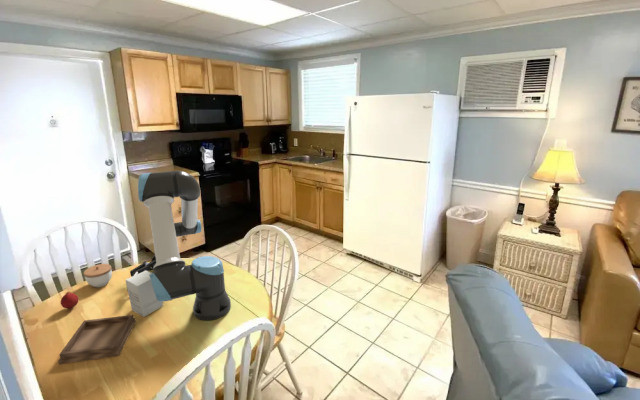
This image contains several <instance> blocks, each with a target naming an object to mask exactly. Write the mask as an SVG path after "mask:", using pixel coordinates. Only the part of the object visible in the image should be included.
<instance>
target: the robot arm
mask: <svg viewBox="0 0 640 400" xmlns="http://www.w3.org/2000/svg"><path fill="white" fill-rule="evenodd" d="M137 193H138V201H139V202H142V203H143V206H145V207H147V208H148V214H149V221H150V227H151V228H150V229H151V234H152V241H153V249H154V255H152V258H151V260H150V261H149V262H147V261H143V262H142V263H141V264H139V265H138V266H136V267H135V268H133V269H131V270H130V271H129V273H130V277H133V276H135V275H137V274H139V273H141V272H143V271H148V272H150V273H151V274H149V276H150V279H151V283H152V286H153V289H154V293H155V296H156V299H157V300H158V301H159V302H163V303H164V302H168V301H173V300H176V299H179V298H184V297H188V296H191V295H195V298H194V302H193V306H192V310H193V311H192V312H193V315H194V317H195V318H196V319H198V320H201V321H213V320H218V319H221V318H222V317H224V316H225V315H226V314H228V313H229V311H230V310H231V307H232V306H231V305H232V304H231V299H230V297H229V295H228V293H227V291H226V283H225V274H224V272H225V269H224V265H223V261H222V260H221V259H220V258H218V257H216V256H211V255H203V256H198V257H196V258H194V259H193V260H192V262H191V264H188V265H186V261H185V260H184V259H182V258H181V255H180V250H179V244H178V243H179V242H178V237H184V236H188V235H189V236H190V235H196V234H199V233H200V234H201V232H202V229H203V227H202V223H201V220H200V219H198V215H199V214H198V209H199V198H200V197H201V187H200V184H199V181H198V180H197V179H196V178H195V177H194V176H193V175H192V174H190V173H188V172H186V171H184V170H169V171H156V172H152V171H151V172H148V173H141V174H140V175H139V176H138V180H137ZM175 198H180V206H181V207H180V208H181V221H180V222H175V221H174V220H175V219H174V215H173V209H172V205H173V203H175ZM151 271H152V272H151Z"/></svg>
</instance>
